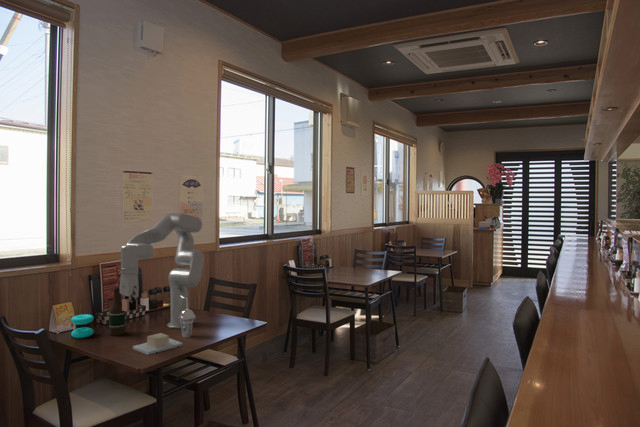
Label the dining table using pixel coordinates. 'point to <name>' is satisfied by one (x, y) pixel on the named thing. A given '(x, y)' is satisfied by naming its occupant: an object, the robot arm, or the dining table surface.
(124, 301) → the terracotta block
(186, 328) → the cup with straw
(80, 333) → the turquoise yo-yo
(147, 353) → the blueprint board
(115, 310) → the beer bottle
